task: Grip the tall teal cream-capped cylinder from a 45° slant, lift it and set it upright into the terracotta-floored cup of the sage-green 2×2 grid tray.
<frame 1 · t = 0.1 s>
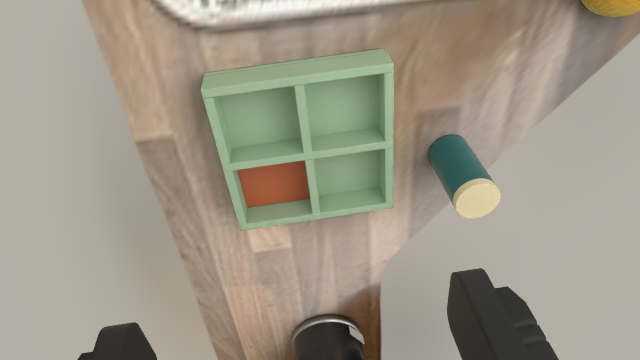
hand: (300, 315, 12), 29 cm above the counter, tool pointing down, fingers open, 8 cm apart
teal cream-capped cylinder: (447, 151, 46), on the counter
grid: (305, 137, 43), on the counter
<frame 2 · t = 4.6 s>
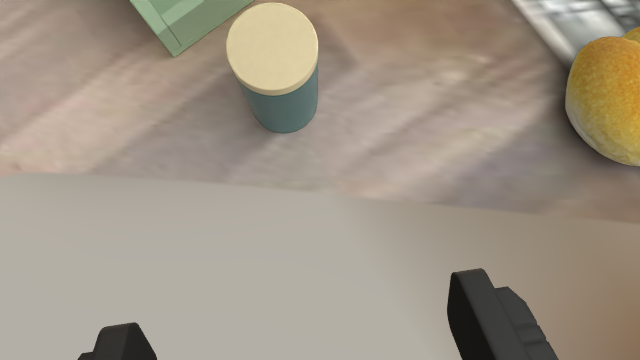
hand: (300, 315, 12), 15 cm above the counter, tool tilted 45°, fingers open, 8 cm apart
bread roll: (631, 100, 28), on the counter
teal cream-capped cylinder: (284, 101, 27), on the counter
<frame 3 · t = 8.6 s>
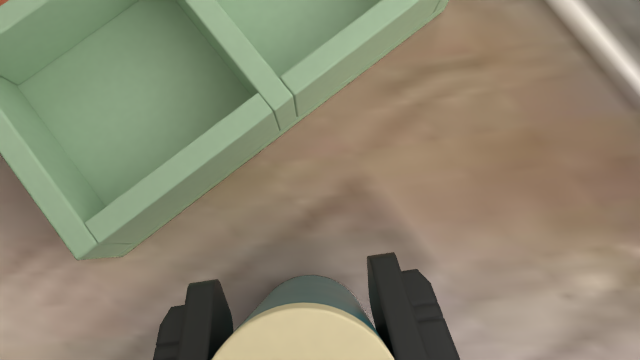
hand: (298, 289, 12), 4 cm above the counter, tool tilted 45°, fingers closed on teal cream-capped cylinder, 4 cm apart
teal cream-capped cylinder: (310, 332, 16), on the counter, touching gripper
when the fingers open (5 cm above the counter, at t = 17.3 s): teal cream-capped cylinder stays where it is, resting on grid.
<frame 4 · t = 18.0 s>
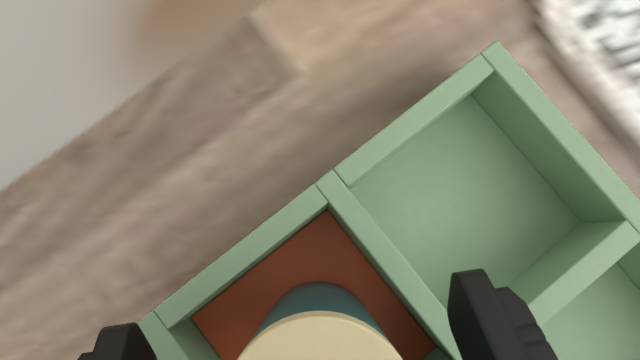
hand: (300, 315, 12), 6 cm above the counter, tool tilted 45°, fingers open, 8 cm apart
teal cream-capped cylinder: (318, 336, 17), point 1 cm above the counter, touching grid
grid: (447, 343, 17), on the counter
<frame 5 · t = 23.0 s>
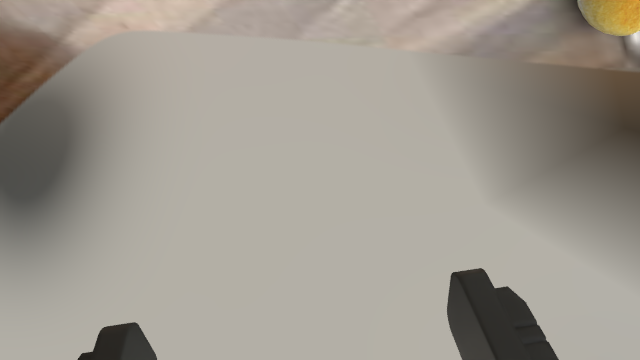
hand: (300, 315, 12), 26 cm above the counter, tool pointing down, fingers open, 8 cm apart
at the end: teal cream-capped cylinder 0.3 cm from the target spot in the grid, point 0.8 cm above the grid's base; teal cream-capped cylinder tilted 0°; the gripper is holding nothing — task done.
